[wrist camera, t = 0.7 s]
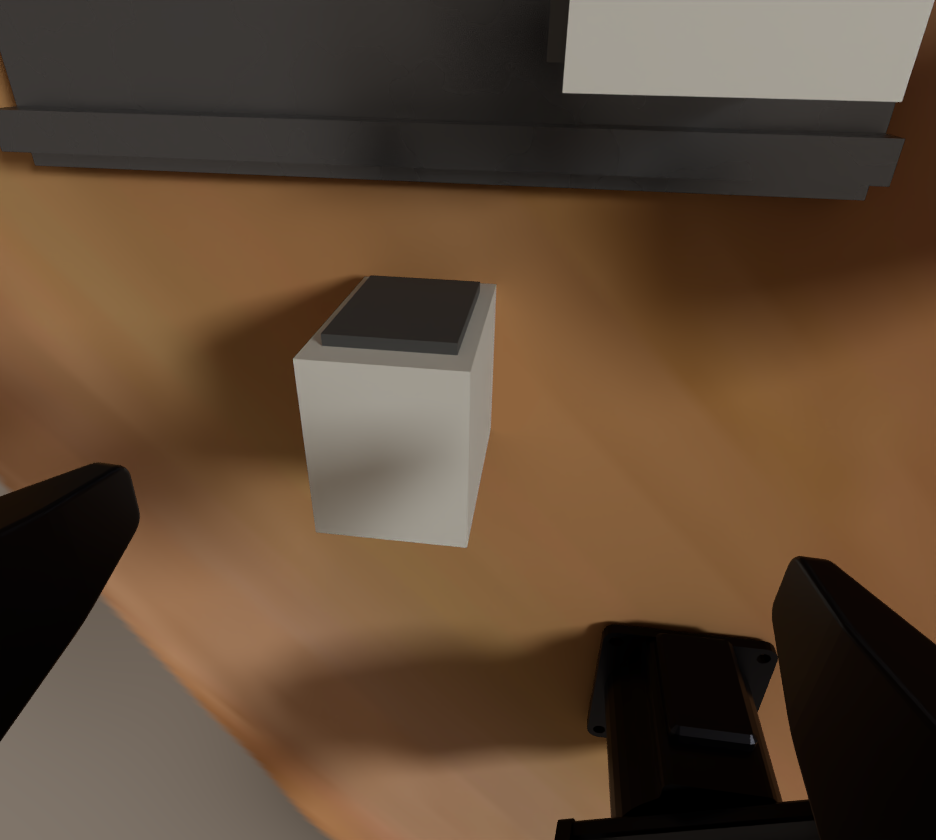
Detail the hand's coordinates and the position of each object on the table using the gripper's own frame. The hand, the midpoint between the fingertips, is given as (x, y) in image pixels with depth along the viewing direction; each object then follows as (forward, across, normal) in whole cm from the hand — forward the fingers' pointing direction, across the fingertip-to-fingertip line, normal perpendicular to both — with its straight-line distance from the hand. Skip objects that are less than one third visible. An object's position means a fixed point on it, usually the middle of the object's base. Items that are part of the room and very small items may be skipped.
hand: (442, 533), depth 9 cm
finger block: (+12, +2, +3) cm, 12 cm away
